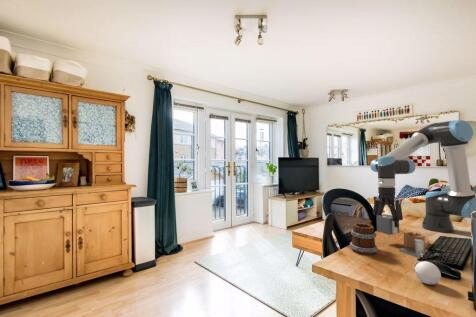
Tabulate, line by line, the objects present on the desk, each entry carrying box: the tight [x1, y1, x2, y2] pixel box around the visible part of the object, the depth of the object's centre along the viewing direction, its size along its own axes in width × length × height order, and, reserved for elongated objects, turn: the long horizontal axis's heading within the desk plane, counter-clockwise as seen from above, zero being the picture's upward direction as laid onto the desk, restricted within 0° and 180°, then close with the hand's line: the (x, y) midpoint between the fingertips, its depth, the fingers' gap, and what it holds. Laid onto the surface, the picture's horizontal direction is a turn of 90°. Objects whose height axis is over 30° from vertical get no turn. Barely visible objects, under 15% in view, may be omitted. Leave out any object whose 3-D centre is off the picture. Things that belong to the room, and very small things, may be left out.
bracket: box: [403, 231, 430, 250], centre depth 124 cm, size 18×8×7 cm, turn 134°
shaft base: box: [398, 239, 440, 259], centre depth 113 cm, size 11×11×6 cm
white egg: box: [413, 260, 442, 286], centre depth 85 cm, size 10×7×7 cm
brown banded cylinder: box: [349, 219, 379, 256], centre depth 117 cm, size 12×14×15 cm
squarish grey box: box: [376, 213, 400, 236], centre depth 126 cm, size 7×7×8 cm
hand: (387, 231), depth 126 cm, fingers closed on squarish grey box, 7 cm apart
